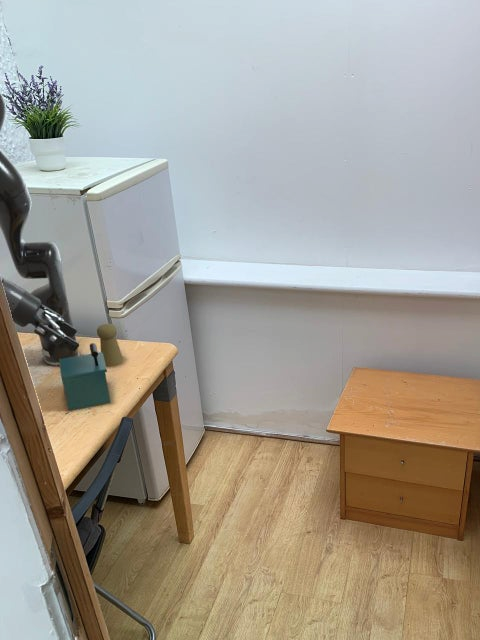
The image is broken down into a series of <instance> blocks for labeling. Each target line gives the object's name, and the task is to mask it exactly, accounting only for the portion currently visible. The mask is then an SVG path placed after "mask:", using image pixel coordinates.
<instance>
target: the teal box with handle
mask: <svg viewBox="0 0 480 640" xmlns="http://www.w3.org/2000/svg"><path fill="white" fill-rule="evenodd" d="M89 351H90V353H88V354H80V356H75V357H68V358H62V359H59V362H60V365H59V369H60V378H61V381H62V380H63V379H69V378H75V377H80V376H86V375H92V374H98V373H104V372H105V373H108V369H107V366H106V365H105V361H104V357H103V353H102V352H101V351H100V352H99V351H98V347H97V344H96V343H94V342H92V343H89Z"/></svg>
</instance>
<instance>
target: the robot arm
mask: <svg viewBox="0 0 480 640" xmlns="http://www.w3.org/2000/svg"><path fill="white" fill-rule="evenodd" d="M6 118H7V104H6V101H5V98H4V97H3V95H2V94H1V93H0V135H1V133H2V131H3V128H4V125H5V122H6ZM32 204H33V203H32V197H31V195H30V192H29V190H28V187H27V184H26V182H25V179H24V177H23V175H22V173H21V172H20V170H19V169H18V167H16V165H15V164H14V163H13V162H12V160H11V159H10V158H9V157H8V156H7V155H6V154H5V153H4V151H2V149H0V230H1V232H2V235H3V237H4V240H5V243H6V245H7V248H8V249H7V250H8V252H9V254H10V257H11V260H12V263H13V265H14V267H15V270H16V272H17V273H18V275H19V276H20V277H21V278H22V279H26V280H37V279H39V280H41V279H42V280H43V279H47V281H48V282H47V283H46V284H45V285H43V286H39V287H37V288H35V289H33V290H32V291H31V292H29V291H27V290H25V289H24V288H22V287H21V286H19V285H17V284H16V283H14V282H12V281H10V280H8V279H5V277H2V276H1V275H0V277H1V279H2V283H3V287H4V290H5V293H6V297H7V300H8V303H9V307H10V310H11V314H12V318H13V321H14V322H13V323H14V324H16V325H17V326H19V327H21V328H25V327H27V326H28V325H29V324H31V325H32V326H33V327H34V330H33V332H34V333H35V334H36V335H38V337H39V341H40V345H41V354H42V355H43V359H44V362H45V364H47V365H49V366H55V367H56V366H57V367H58V366H60V362H59V359H62V358H68V357H75V356H81V354H80V351H79V347H80V343H79V341H77V338H76V333H78V330H77V328H76V327H74V323H73V319H72V315H71V310H70V309H71V308H70V305H69V301H68V295H67V289H66V283H65V278H64V272H63V266H62V260H61V254H60V250H59V248H58V246H57V244H55V243H54V242H53V241H37V242H27V241H25V239H24V237H23V231H24V228H25V225H26V223H27V221H28V218H29V216H30V214H31V210H32Z"/></svg>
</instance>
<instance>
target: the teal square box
mask: <svg viewBox="0 0 480 640" xmlns="http://www.w3.org/2000/svg"><path fill="white" fill-rule="evenodd" d="M61 382H62V387H63V390H64V395H65V399H66V403H67V408H68V411H69V412H71V411H75V410H80V409H87V408H93V407H97V406H102V405H108V404H111V403H112V401H111V397H110V391H109V386H108V385H109V384H108V380H107V376H106V372H104V373H98V374H92V375H86V376H80V377H75V378H69V379H63V380H62V379H61Z"/></svg>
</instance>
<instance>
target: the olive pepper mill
mask: <svg viewBox="0 0 480 640" xmlns="http://www.w3.org/2000/svg"><path fill="white" fill-rule="evenodd" d="M96 334H97V336H98V337H99V340H100V352H102V353H103V357H104V361H105V365H106V367H115V366H118V365H121V364H122V363H123V362H124V357H123V354H122V352H121V348H120V345H119V342H118V339H117V337H116V336H117V334H118V329H117V327H116V326H115V325H114V324H112V323H102V324H100V325H99V326H98V327H97V329H96Z"/></svg>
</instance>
